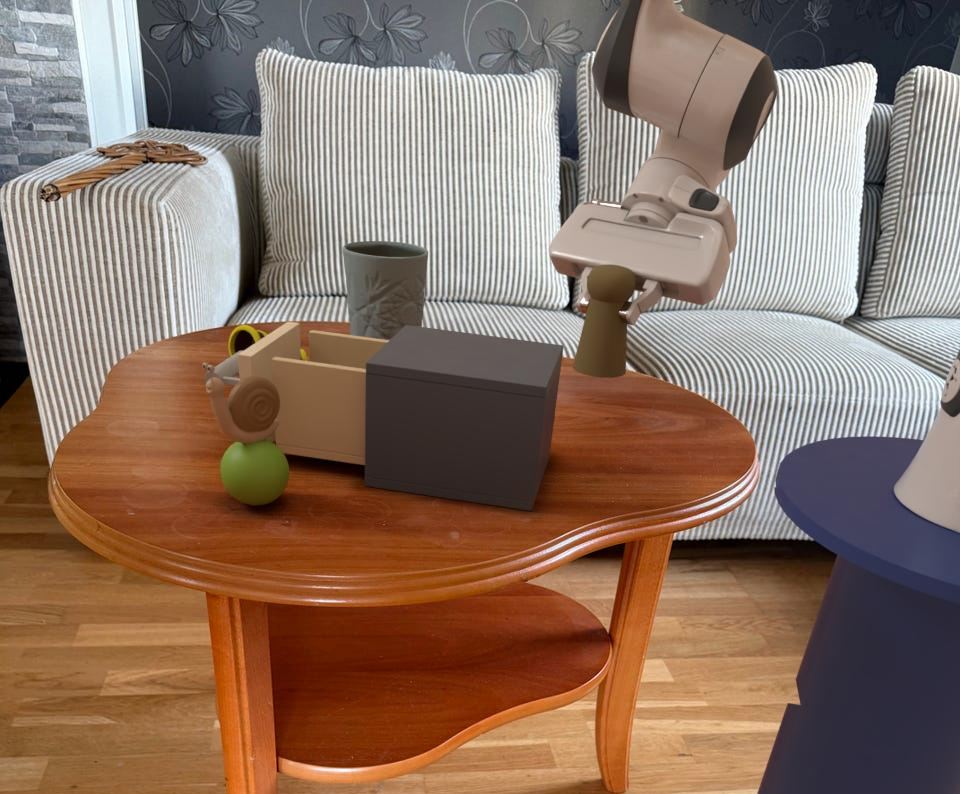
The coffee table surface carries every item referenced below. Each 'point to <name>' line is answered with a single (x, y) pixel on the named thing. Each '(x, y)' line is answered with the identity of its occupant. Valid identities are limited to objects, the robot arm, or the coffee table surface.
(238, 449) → the snail figurine
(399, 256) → the grey embossed cup
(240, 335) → the opera glasses
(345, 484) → the coffee table surface
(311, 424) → the drawer
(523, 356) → the cabinet
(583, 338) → the cork
